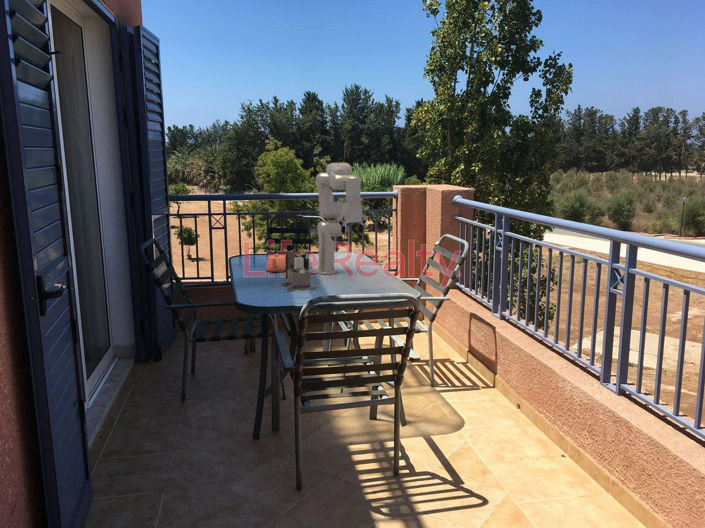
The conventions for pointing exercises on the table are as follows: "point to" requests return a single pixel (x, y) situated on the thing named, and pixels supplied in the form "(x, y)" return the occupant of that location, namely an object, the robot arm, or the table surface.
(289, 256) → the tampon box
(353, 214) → the robot arm
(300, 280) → the stand base
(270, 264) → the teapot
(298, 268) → the column
